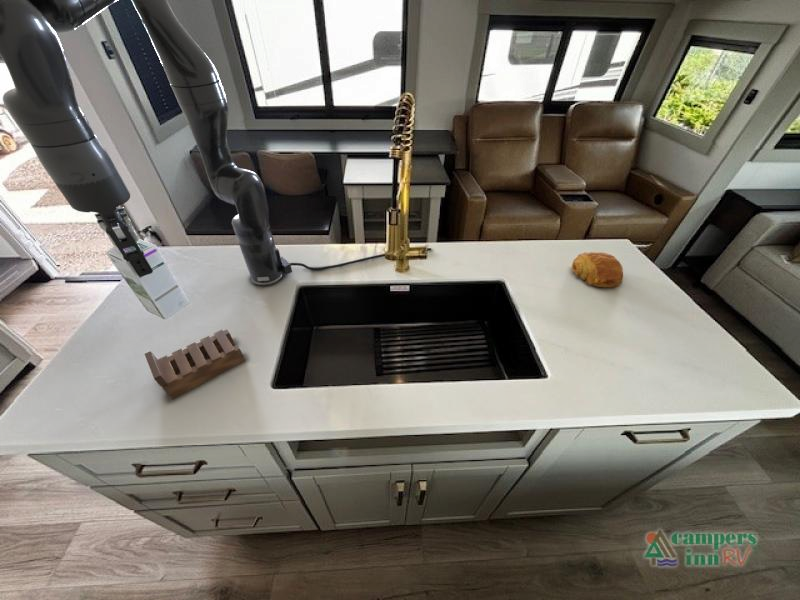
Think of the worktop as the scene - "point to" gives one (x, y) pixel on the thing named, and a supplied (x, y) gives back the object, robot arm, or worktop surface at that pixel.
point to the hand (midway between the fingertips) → (141, 263)
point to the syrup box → (151, 281)
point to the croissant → (598, 269)
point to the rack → (192, 355)
